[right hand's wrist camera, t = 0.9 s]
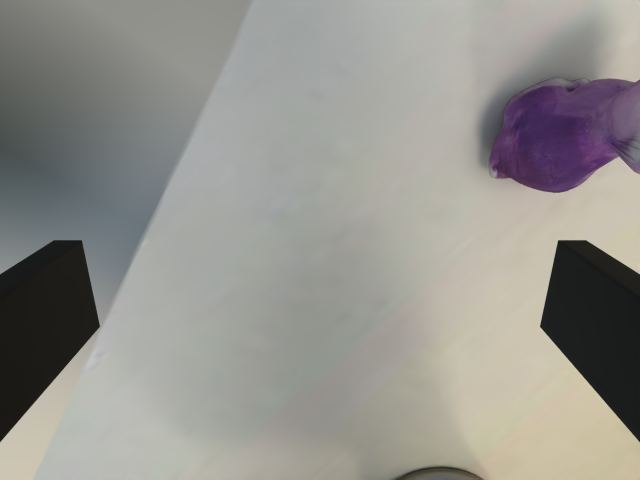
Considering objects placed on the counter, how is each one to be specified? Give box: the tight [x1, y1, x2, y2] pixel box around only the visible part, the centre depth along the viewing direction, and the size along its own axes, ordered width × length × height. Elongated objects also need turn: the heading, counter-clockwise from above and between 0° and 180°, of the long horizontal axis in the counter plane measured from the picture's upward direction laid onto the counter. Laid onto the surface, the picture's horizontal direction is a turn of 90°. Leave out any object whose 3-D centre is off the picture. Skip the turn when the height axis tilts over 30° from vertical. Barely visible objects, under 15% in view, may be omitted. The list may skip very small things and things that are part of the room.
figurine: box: [489, 78, 640, 193], centre depth 30 cm, size 9×10×15 cm
